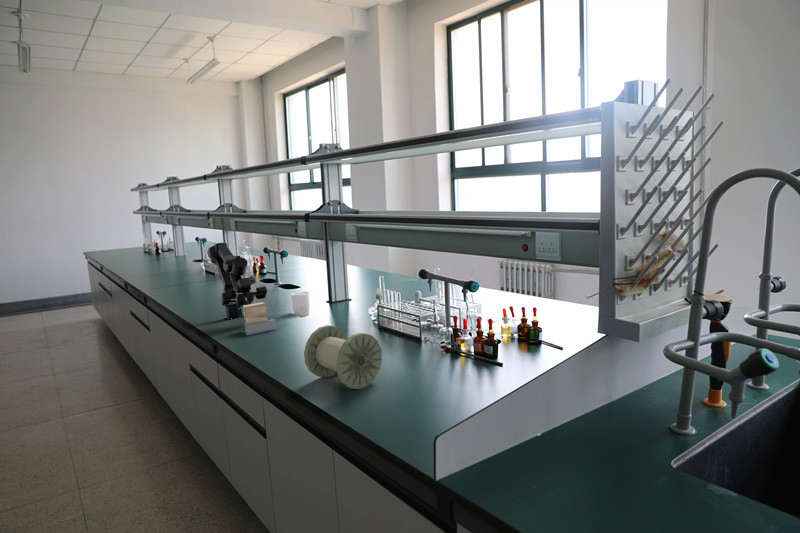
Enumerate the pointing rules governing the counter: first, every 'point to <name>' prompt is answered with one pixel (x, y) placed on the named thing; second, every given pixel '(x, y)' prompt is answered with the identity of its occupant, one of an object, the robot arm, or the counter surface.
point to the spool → (343, 356)
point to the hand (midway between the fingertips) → (250, 311)
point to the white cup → (300, 303)
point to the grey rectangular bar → (260, 327)
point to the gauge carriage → (254, 313)
